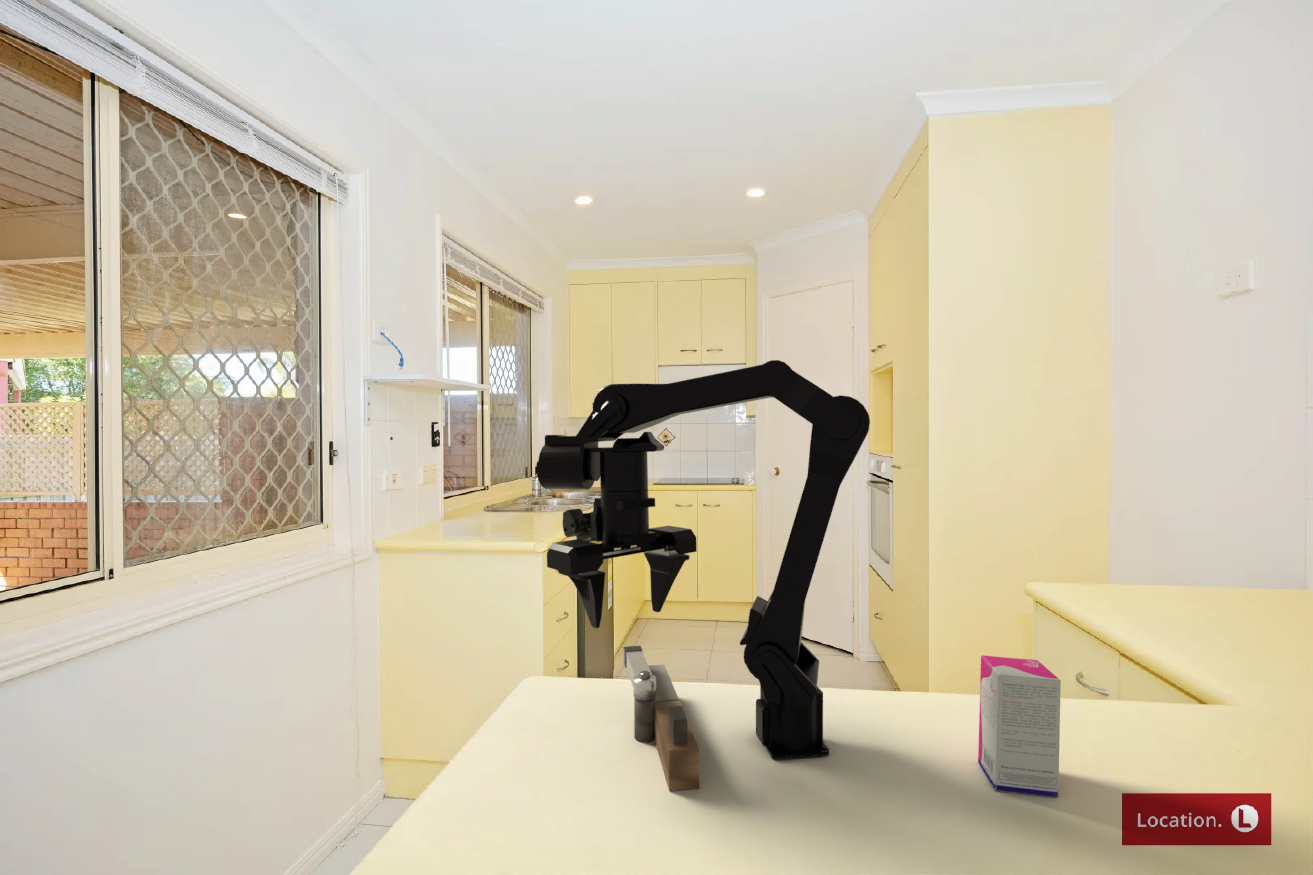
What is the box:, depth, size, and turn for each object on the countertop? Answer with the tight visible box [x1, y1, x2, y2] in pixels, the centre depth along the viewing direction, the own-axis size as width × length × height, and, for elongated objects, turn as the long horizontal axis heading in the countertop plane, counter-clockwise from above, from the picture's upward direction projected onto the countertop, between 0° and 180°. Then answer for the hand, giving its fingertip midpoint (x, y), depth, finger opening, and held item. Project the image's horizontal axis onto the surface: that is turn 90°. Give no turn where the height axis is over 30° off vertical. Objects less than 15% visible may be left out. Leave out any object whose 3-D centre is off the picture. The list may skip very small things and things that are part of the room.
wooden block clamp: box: [633, 664, 700, 792], centre depth 72 cm, size 5×22×6 cm, turn 8°
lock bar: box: [623, 645, 656, 700], centre depth 76 cm, size 12×3×3 cm, turn 10°
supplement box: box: [977, 654, 1062, 798], centre depth 63 cm, size 6×6×12 cm
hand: (627, 619), depth 76 cm, fingers open, 9 cm apart
